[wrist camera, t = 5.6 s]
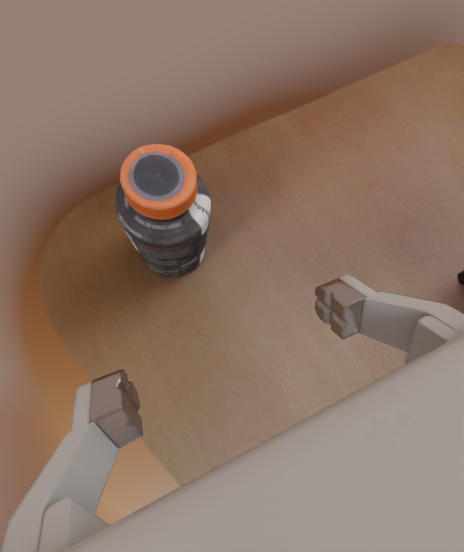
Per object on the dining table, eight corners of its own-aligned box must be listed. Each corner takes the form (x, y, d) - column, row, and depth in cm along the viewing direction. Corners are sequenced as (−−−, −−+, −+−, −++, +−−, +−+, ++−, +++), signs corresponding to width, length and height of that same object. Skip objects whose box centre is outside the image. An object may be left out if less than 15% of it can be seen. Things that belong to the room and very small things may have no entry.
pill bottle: (217, 239, 26) (236, 164, 15) (182, 291, 24) (174, 249, 13) (164, 206, 26) (144, 107, 15) (126, 255, 24) (72, 184, 13)
